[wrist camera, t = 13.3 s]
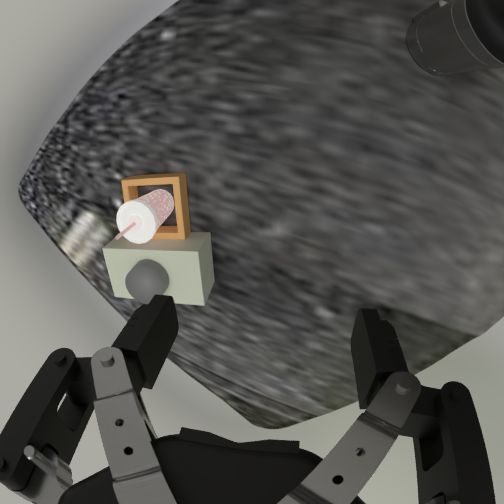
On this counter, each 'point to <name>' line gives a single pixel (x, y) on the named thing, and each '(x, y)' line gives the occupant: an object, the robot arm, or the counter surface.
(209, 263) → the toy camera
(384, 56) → the counter surface
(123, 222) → the beverage cup
